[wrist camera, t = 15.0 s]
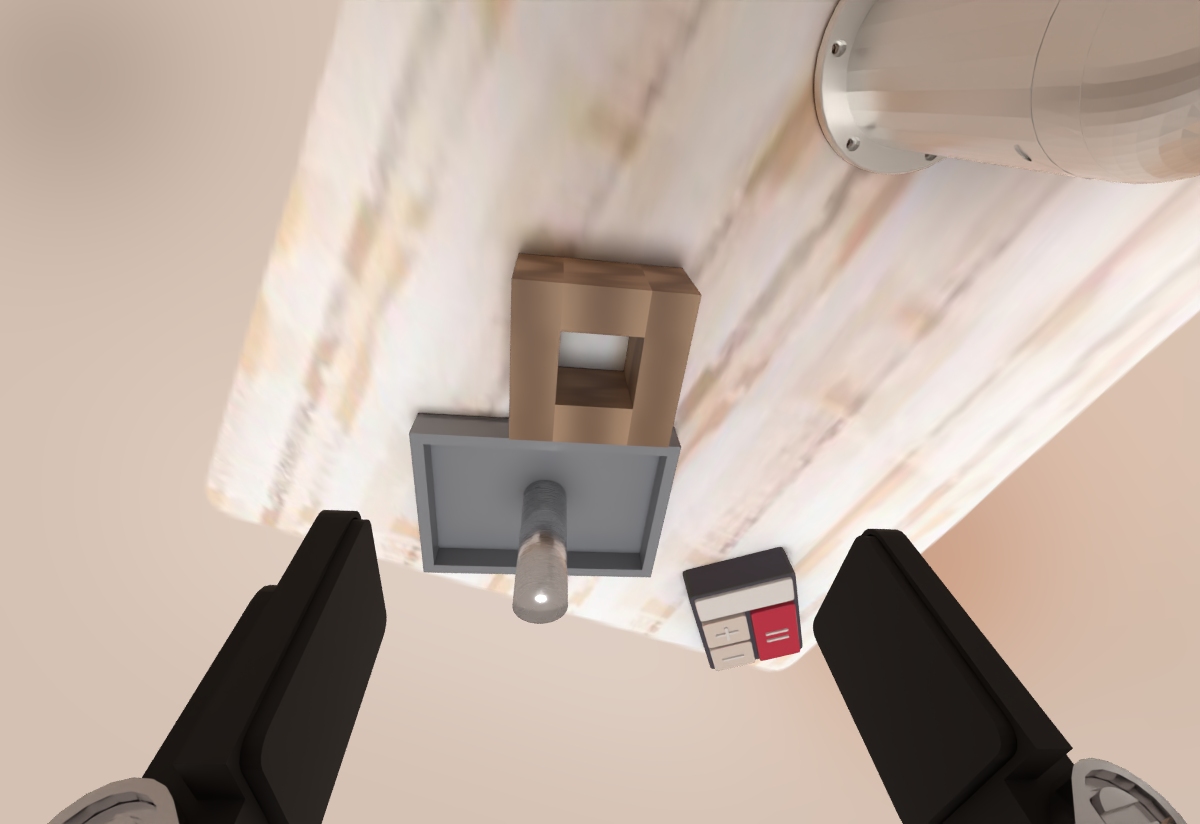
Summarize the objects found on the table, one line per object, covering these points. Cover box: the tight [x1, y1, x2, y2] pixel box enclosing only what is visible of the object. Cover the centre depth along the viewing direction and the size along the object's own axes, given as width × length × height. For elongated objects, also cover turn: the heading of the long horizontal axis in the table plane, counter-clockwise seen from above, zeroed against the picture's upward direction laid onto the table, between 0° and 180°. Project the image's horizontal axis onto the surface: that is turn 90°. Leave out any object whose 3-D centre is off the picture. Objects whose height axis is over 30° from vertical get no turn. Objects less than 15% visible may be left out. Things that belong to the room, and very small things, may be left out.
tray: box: [409, 413, 681, 577], centre depth 47 cm, size 22×16×3 cm
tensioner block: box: [509, 253, 701, 447], centre depth 37 cm, size 12×12×6 cm
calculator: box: [683, 547, 802, 671], centre depth 57 cm, size 11×4×15 cm
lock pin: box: [513, 480, 568, 624], centre depth 42 cm, size 4×4×12 cm
